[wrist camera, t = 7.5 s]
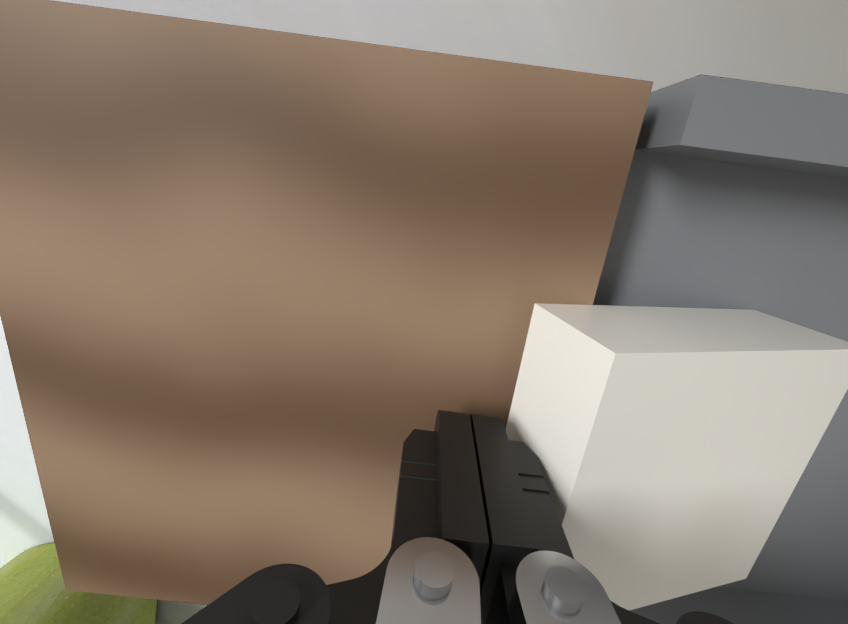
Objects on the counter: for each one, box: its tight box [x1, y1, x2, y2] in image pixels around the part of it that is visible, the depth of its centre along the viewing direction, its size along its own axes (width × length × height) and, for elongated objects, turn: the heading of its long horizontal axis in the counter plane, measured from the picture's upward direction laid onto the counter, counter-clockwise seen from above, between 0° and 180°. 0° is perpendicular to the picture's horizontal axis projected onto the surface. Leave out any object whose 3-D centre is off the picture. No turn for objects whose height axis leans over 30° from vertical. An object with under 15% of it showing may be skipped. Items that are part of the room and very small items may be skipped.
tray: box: [593, 74, 848, 624], centre depth 12 cm, size 16×14×3 cm
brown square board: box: [0, 0, 653, 605], centre depth 12 cm, size 16×14×2 cm
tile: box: [506, 303, 848, 610], centre depth 10 cm, size 7×7×2 cm
